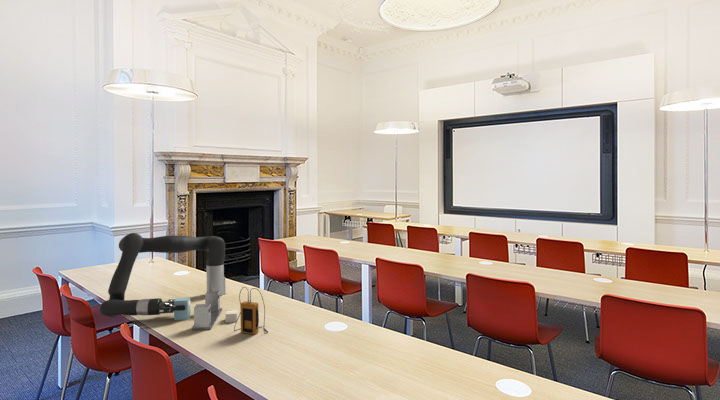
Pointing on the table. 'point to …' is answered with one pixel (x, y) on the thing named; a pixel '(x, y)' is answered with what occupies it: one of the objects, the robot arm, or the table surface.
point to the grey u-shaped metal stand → (207, 311)
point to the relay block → (231, 316)
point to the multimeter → (249, 316)
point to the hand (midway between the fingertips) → (187, 305)
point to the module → (184, 313)
